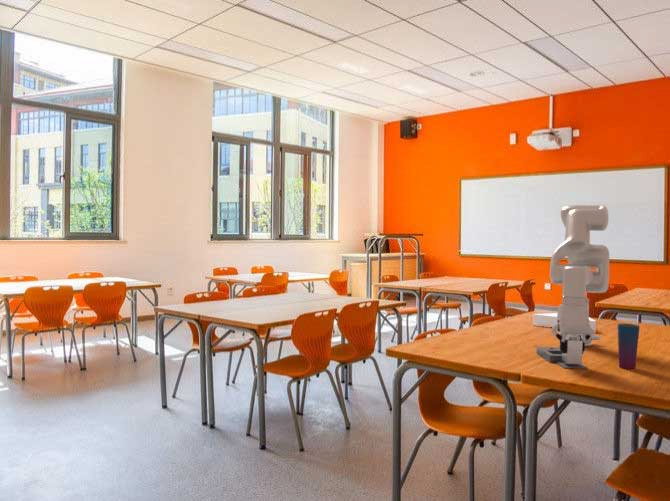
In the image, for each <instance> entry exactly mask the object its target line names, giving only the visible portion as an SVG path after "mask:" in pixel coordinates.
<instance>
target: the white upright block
mask: <svg viewBox="0 0 670 501" xmlns="http://www.w3.org/2000/svg"><path fill="white" fill-rule="evenodd" d="M565 342H566V353H565V354H564V353H562V360H563V361H564V362H566V363H573V364H582V363H583V354H582V344H583V341H582V340H580V339H578V338H576V337H569V338H566V339H565ZM582 365H583V364H582Z"/></svg>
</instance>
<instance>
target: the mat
mask: <svg viewBox="0 0 670 501" xmlns="http://www.w3.org/2000/svg"><path fill="white" fill-rule="evenodd" d="M555 363H556V364H557V365H559V366H560V367H561V368H563V369H565V368H575V370H576V368H577V370H588V369H589V368H588V367H587V366H585V364H573V363H566V362H555Z"/></svg>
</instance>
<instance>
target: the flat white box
mask: <svg viewBox="0 0 670 501" xmlns="http://www.w3.org/2000/svg"><path fill="white" fill-rule="evenodd" d="M557 314H558V312H556V313H553V312H552V313H533V314H532V326H534V325H535V326H534V327H542V326H544V327H543V328H550V327H552V328H551V329H553V327H554V326H555V325H556V321H557ZM589 325H590V327H591V328H592V329H593V330H594V332H595V334H596V331H597V329H596V328H597V321H596V320H595V319H593V318H591V317H590V316H589Z"/></svg>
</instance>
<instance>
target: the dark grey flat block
mask: <svg viewBox="0 0 670 501" xmlns="http://www.w3.org/2000/svg"><path fill="white" fill-rule="evenodd" d="M536 354H537V355H539V356H540V357H541V358H543V359H544V360H545V361H547V362H548V363H556V362H564V361H563V360H562V352H561V350H560V346H559V347H551V346H536Z"/></svg>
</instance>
